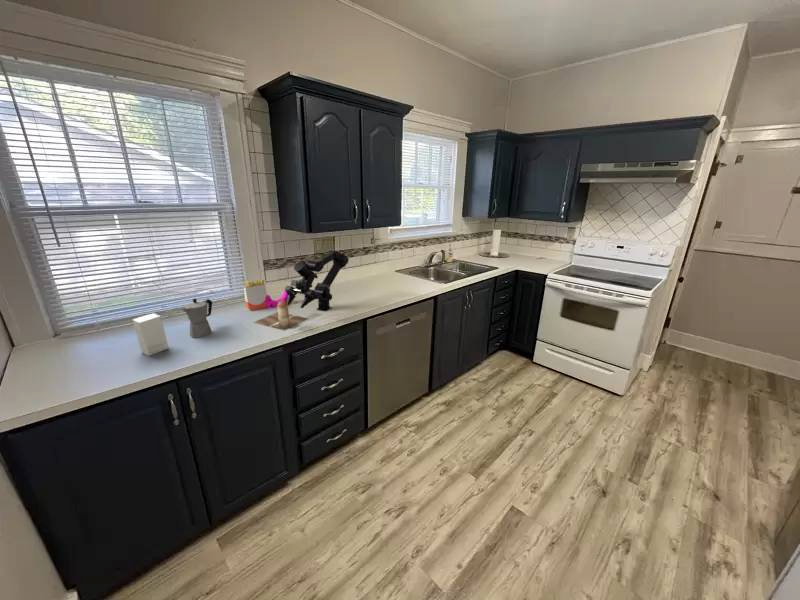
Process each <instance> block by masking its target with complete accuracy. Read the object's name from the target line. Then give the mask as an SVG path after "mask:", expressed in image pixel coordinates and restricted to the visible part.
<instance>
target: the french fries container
mask: <svg viewBox="0 0 800 600" xmlns="http://www.w3.org/2000/svg"><path fill="white" fill-rule="evenodd" d="M246 282H247V284H245V285H244V287H243V292H244V293H243V294H244V303H245V307H246V309H249V311H253V312H254V311H256V310H261V309H265V308H267V307H266V299H265V297H267V296H266V295H267V291H266V289H267V288H266V284H265V279H261V280H259V279H256V282H254V280H251V281H250V280H248V281H246Z"/></svg>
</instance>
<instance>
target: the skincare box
mask: <svg viewBox="0 0 800 600" xmlns="http://www.w3.org/2000/svg"><path fill="white" fill-rule="evenodd" d="M132 323H133V327H134V331H135V333H136V334H135V335H136V337H137V341H138V345H139V348H140V353H142V354H144V355H146V356H152V355H155V354H158V353H161V352H162V351H166V350H169V344H168V339H167V335H166V331H165V328H164V327H165V326H164V323H163V320H162V316H161V315H159V314H157V313H150V314H147V315H143V316H139V317H137V318H132Z"/></svg>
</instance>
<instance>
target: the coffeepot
mask: <svg viewBox="0 0 800 600" xmlns="http://www.w3.org/2000/svg"><path fill="white" fill-rule="evenodd" d="M212 307H213V301H212V300H210V299H209V298H207V299H204V300H201V301H197V298H193V299H192V302H190V303H187V304H185V305H183V308H182V312H184V313H186V317H187V319H188V320H189V322H190V323H189V336H190V337H191V338H194V339H202V338H205V337H208V336H210V335H211V334H212V332H213V330H212V328H211V325H210V323H209V321H208V319H207V317H209V316H211V315H212Z"/></svg>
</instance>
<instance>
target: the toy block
mask: <svg viewBox="0 0 800 600" xmlns="http://www.w3.org/2000/svg"><path fill="white" fill-rule="evenodd" d="M266 296H267V297H265V299H266V307H265V308H267V309H273V308H277V304H278V302H280V301H285V302H286V303H287V300H288V294H287V292H286V291H285V290H283V294H282V296H281V297H280V298H278V299H276V300H275V299H272V297H271V296H270V295H269V294H266Z"/></svg>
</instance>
